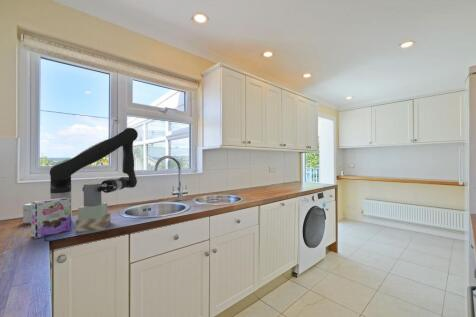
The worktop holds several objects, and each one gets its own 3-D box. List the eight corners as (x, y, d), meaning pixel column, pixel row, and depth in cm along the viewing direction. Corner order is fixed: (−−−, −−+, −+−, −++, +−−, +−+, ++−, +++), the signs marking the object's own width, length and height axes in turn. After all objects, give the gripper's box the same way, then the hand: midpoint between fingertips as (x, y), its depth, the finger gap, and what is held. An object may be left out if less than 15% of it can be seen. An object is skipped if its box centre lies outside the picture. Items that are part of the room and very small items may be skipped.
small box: (45, 220, 128) (45, 202, 128) (35, 223, 123) (35, 204, 123) (33, 220, 129) (32, 202, 129) (22, 223, 124) (22, 204, 124)
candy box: (35, 239, 99) (34, 202, 99) (30, 236, 102) (30, 201, 102) (71, 230, 111) (70, 197, 110) (66, 228, 114) (65, 196, 114)
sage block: (78, 219, 109) (78, 207, 109) (86, 214, 119) (86, 203, 119) (100, 218, 112) (100, 206, 111) (107, 213, 121) (107, 202, 121)
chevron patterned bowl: (75, 232, 108) (75, 220, 108) (86, 225, 120) (85, 214, 120) (103, 230, 111) (103, 218, 111) (110, 223, 123) (110, 212, 123)
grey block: (83, 206, 113) (83, 184, 112) (91, 203, 118) (91, 183, 118) (93, 206, 112) (93, 184, 112) (101, 203, 118) (101, 183, 117)
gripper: (100, 179, 130) (77, 182, 114) (122, 179, 129) (103, 182, 113) (100, 191, 130) (78, 196, 114) (123, 191, 129) (103, 196, 113)
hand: (90, 189), depth 114 cm, fingers open, 8 cm apart
